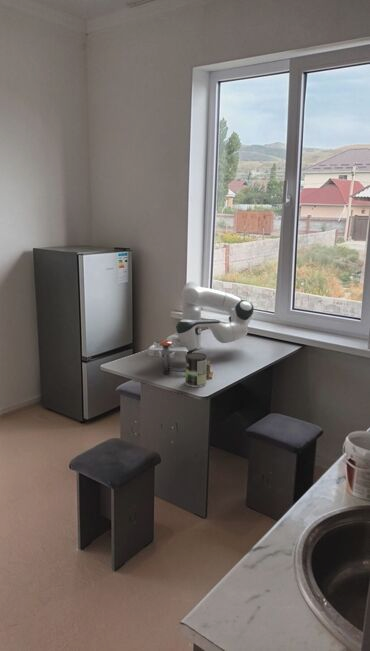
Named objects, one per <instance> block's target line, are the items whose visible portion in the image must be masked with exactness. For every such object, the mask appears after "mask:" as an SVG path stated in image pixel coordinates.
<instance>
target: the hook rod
mask: <svg viewBox="0 0 370 651" xmlns="http://www.w3.org/2000/svg"><path fill="white" fill-rule="evenodd" d="M159 342H160V345H162V346H163V358H162V374H163V373H164V374H163V375H169V374H170V373H186V367H184V368H182V367H181V368H180V367H170V358H169V346H170V345H172V341H170V340H166V339H164V340H159Z"/></svg>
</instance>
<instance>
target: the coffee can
mask: <svg viewBox="0 0 370 651" xmlns="http://www.w3.org/2000/svg"><path fill="white" fill-rule="evenodd" d="M184 358H185V368H186V372H185V385H186V386H188V387H191V386H192V388H200V387H204V386H206V384H207V379H206V361H208V360H207V359H208V355H207V354H205V353H203V352H192V353H189V354H187V355H186V356H185V357H184Z"/></svg>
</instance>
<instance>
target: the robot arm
mask: <svg viewBox="0 0 370 651" xmlns="http://www.w3.org/2000/svg"><path fill="white" fill-rule="evenodd" d="M181 298H182V315H181V316H182V318H181V320H178V322H176V326H175V330H176V332H175V333H174V334H173V333H172V334H171V335H169V336H167V338H165V340H170V341H172V345H170V346H169V359H172V358H186V357H185V356H186V355H187V354H189V353H195V351H196V350H201V349H203V348H204V345H203V340H202V328H208V329H209V330H210V331H211V333H212V335H213V337H214V338H215V340H216V341H218V342H219V343H221V344H229V343H232V342H236V341H239V340H241V339H243V338H244V337H246V336H247V335H248V332H249V331H248V330H249V329H248V327H249V325H250V323H251V318H252V317H253V316H252V315H253V314H254V305H253V303H252V302H251V301H248V300H244V299H243V300H242V299H241V298H240V297H238V296H236V295H234V294H232V293H229V292H226V291H222V290H219V289H218V290H217V289H215V288H208V287H203V286H201V285H200V284H199V283H197V282H195V281H188V282H187V283H186V284H184V286H183V289H182V292H181ZM202 307H207V308H212V309H215V310H219V311H223V312H225V313H228V314H229V317H228V322H221V320H220V319H215V318H214V319H213V318H211V319H210V318H207V319H206V318H205V319H203V318H202V316H201V315H202ZM147 350H148V351H147V356H149V357H159V358H161V359H163V346H162V345H160V341H156V342H155V341H154V342H153V343H152V344H151V345H150V346H149V347H148V349H147Z"/></svg>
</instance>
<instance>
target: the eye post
mask: <svg viewBox="0 0 370 651" xmlns="http://www.w3.org/2000/svg"><path fill="white" fill-rule="evenodd" d="M213 374H214V372H213V371H211V361H210V360H207V361H206V380H212V379H213Z"/></svg>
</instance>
